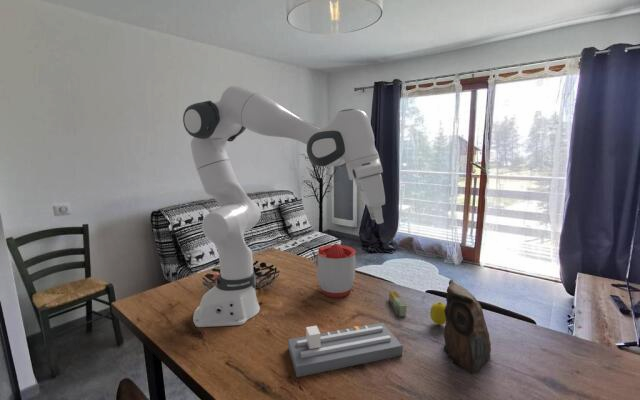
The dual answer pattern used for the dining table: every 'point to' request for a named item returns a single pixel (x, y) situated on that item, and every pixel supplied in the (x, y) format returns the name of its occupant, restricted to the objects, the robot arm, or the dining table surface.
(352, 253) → the citrus juicer
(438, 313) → the lemon
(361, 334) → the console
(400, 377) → the dining table surface
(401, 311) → the medication box
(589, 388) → the dining table surface
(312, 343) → the fader
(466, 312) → the owl
